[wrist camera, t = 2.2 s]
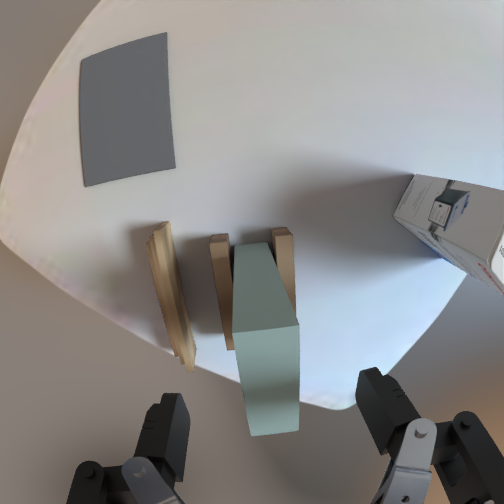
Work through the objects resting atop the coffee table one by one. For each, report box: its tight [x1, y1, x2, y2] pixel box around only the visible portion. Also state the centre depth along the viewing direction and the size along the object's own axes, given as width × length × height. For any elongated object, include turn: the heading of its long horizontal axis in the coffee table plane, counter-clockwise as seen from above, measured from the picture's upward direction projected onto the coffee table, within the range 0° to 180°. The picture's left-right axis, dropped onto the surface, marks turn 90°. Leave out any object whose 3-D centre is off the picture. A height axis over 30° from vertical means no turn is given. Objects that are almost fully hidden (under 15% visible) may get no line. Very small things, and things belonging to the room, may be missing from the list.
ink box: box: [393, 174, 504, 296], centre depth 16 cm, size 9×5×12 cm, turn 62°
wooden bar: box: [146, 221, 196, 372], centre depth 21 cm, size 12×2×4 cm, turn 6°
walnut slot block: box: [209, 227, 296, 350], centre depth 21 cm, size 9×6×2 cm, turn 6°
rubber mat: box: [80, 32, 176, 187], centre depth 17 cm, size 12×8×1 cm, turn 6°
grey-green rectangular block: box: [232, 242, 300, 436], centre depth 17 cm, size 7×2×12 cm, turn 6°
